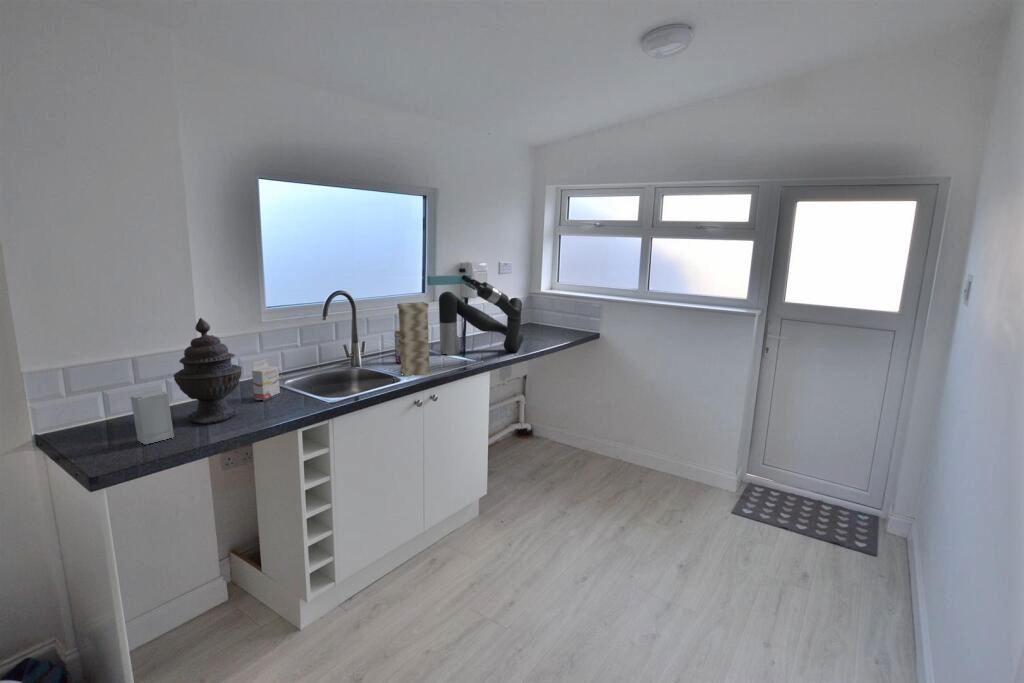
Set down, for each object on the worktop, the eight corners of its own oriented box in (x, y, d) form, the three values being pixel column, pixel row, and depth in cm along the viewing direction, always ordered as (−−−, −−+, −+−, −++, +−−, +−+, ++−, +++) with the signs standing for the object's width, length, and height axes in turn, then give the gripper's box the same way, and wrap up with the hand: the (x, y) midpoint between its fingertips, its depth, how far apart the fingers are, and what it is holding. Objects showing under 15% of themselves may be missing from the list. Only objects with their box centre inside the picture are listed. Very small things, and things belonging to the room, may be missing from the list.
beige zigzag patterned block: (425, 370, 251) (422, 302, 245) (430, 373, 245) (428, 303, 239) (400, 373, 245) (397, 303, 240) (405, 376, 239) (402, 305, 234)
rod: (467, 283, 253) (467, 274, 253) (471, 283, 250) (470, 275, 249) (427, 284, 244) (427, 276, 243) (430, 285, 240) (430, 276, 239)
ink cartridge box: (264, 402, 202) (261, 363, 199) (254, 400, 203) (250, 362, 201) (281, 396, 209) (278, 359, 207) (271, 394, 211) (267, 358, 208)
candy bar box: (395, 363, 266) (393, 330, 263) (398, 361, 270) (397, 329, 267) (417, 363, 264) (416, 331, 262) (420, 361, 269) (418, 329, 266)
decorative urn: (237, 423, 175) (220, 317, 170) (170, 431, 172) (151, 323, 167) (256, 408, 195) (242, 312, 190) (197, 414, 192) (180, 317, 187)
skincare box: (167, 434, 167) (161, 388, 164) (175, 439, 164) (169, 391, 161) (136, 442, 161) (129, 394, 158) (143, 447, 157) (137, 398, 154)
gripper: (492, 301, 251) (463, 284, 243) (479, 298, 263) (450, 282, 255) (499, 287, 252) (470, 269, 243) (485, 285, 264) (457, 268, 255)
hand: (460, 276), depth 249 cm, fingers closed on rod, 4 cm apart
